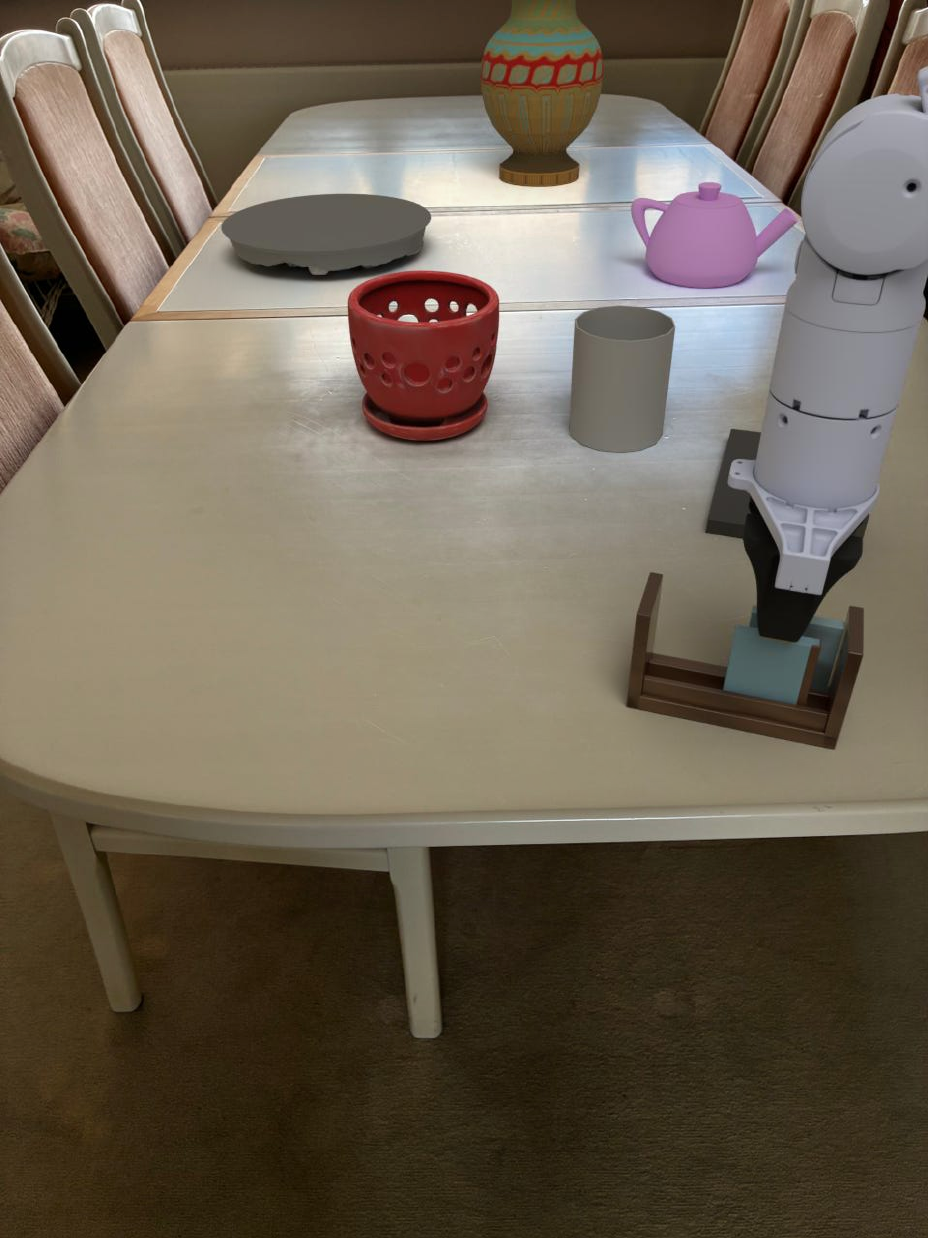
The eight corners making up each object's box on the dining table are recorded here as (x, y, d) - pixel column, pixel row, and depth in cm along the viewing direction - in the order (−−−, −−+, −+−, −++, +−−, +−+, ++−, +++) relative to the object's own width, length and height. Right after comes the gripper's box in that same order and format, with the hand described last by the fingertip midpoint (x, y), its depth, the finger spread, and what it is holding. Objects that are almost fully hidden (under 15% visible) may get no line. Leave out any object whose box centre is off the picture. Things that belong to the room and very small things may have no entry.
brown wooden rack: (837, 700, 58) (864, 607, 54) (835, 750, 54) (863, 655, 50) (639, 662, 61) (650, 571, 57) (625, 706, 58) (636, 613, 53)
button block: (728, 440, 85) (734, 409, 83) (861, 457, 82) (870, 425, 80) (702, 542, 72) (708, 507, 70) (859, 566, 69) (869, 531, 67)
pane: (803, 705, 56) (831, 602, 51) (802, 716, 55) (830, 613, 50) (722, 689, 57) (742, 587, 52) (720, 700, 56) (740, 598, 52)
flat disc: (423, 220, 143) (422, 189, 141) (442, 280, 121) (441, 244, 119) (234, 230, 141) (229, 198, 138) (218, 293, 119) (212, 256, 116)
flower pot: (331, 438, 87) (317, 307, 79) (398, 383, 96) (390, 261, 89) (463, 465, 82) (460, 328, 75) (519, 404, 92) (522, 278, 84)
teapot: (787, 296, 114) (805, 202, 108) (619, 286, 118) (627, 194, 112) (786, 261, 125) (802, 173, 118) (632, 253, 129) (639, 167, 123)
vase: (619, 173, 165) (635, -37, 147) (549, 197, 153) (556, -29, 135) (529, 158, 176) (534, -40, 157) (457, 179, 164) (453, -33, 146)
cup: (667, 452, 83) (681, 340, 77) (573, 452, 84) (579, 341, 78) (654, 410, 90) (666, 304, 84) (566, 411, 90) (572, 305, 84)
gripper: (758, 329, 51) (721, 545, 59) (727, 452, 40) (686, 696, 48) (900, 343, 49) (841, 564, 57) (908, 476, 38) (834, 725, 46)
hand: (779, 626), depth 52 cm, fingers closed on pane
